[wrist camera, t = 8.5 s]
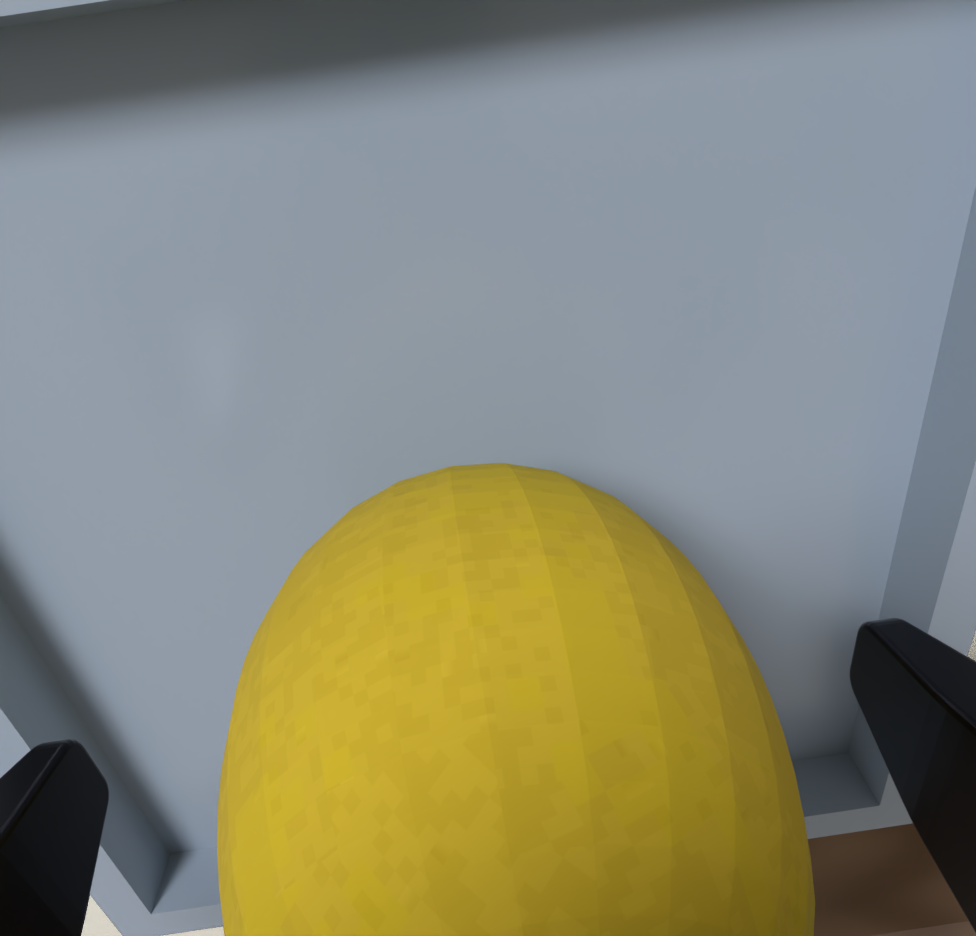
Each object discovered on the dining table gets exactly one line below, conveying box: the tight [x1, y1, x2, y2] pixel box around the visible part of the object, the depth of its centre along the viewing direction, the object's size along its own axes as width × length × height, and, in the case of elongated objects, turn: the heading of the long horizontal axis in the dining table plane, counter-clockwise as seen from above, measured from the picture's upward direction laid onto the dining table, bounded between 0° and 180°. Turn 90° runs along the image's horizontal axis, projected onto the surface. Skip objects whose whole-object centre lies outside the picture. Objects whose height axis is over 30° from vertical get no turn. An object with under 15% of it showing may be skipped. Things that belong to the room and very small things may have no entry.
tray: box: [0, 0, 976, 936], centre depth 11 cm, size 16×16×2 cm
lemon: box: [217, 463, 815, 936], centre depth 8 cm, size 6×6×8 cm
